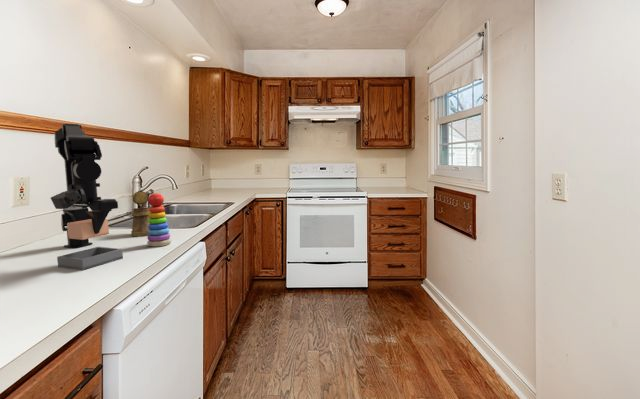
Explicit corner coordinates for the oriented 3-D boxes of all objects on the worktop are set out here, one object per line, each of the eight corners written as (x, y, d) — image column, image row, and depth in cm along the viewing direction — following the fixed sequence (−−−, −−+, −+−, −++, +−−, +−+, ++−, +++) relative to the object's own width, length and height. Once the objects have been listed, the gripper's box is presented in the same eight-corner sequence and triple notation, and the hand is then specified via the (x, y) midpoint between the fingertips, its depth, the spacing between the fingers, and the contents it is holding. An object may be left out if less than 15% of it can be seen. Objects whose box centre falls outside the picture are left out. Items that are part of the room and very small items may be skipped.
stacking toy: (175, 242, 127) (172, 192, 125) (164, 247, 120) (160, 194, 118) (155, 242, 128) (152, 192, 126) (142, 247, 120) (138, 194, 118)
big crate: (58, 266, 98) (57, 256, 98) (99, 255, 110) (98, 246, 109) (83, 270, 95) (82, 259, 94) (122, 258, 106) (122, 248, 106)
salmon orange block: (68, 238, 99) (66, 223, 98) (94, 232, 106) (93, 218, 106) (82, 239, 97) (81, 224, 96) (108, 234, 104) (107, 219, 104)
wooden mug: (154, 229, 153) (151, 189, 151) (155, 235, 141) (152, 191, 139) (131, 231, 149) (128, 190, 147) (131, 237, 137) (127, 193, 135)
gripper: (32, 181, 95) (38, 236, 97) (78, 182, 89) (84, 240, 91) (73, 179, 106) (77, 229, 107) (117, 179, 99) (121, 232, 101)
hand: (89, 232), depth 101 cm, fingers closed on salmon orange block, 6 cm apart
